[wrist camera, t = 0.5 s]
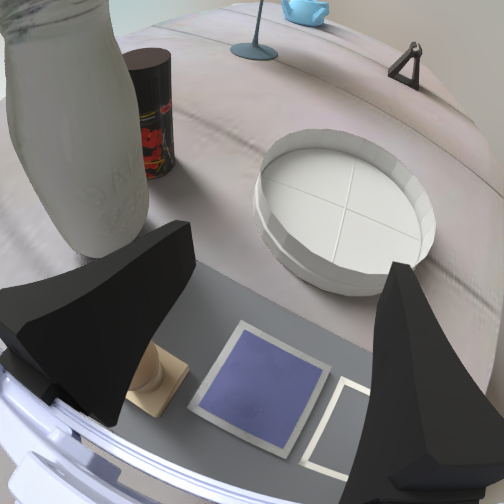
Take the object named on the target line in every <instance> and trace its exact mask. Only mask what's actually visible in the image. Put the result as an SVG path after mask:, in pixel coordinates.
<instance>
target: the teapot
mask: <svg viewBox="0 0 504 504" xmlns="http://www.w3.org/2000/svg"><path fill="white" fill-rule="evenodd" d="M281 3H282V8H283V13H284V16H285V17H286V19H287V20H289V21H291V22H294V23H297V24H301V25H305V26H313V27H317V26H319V25H321V24H322V23H323V22H324V17H325V16H327V15H328V14H329V5H328V3H326V2H318V1H315V0H290V3H288V2H287V0H281ZM321 6H322V7H321Z"/></svg>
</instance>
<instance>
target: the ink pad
mask: <svg viewBox="0 0 504 504" xmlns="http://www.w3.org/2000/svg"><path fill="white" fill-rule="evenodd" d="M331 368H332V367H331V366H329V365H327V364H325V363H323V362H321V361H319V360H317V359H315V358H313V357H311V356H309V355H307V354H305V353H303V352H301V351H299V350H297V349H295V348H293V347H291V346H289V345H287V344H286V343H284V342H282V341H280V340H278V339H276V338H274V337H272V336H270V335H268V334H267V333H265V332H263V331H261V330H259V329H257V328H255V327H254V326H252V325H250V324H248V323H246V322H245V321H243V320H240V322H239V324H238V325H237V327H236V329H235V330H234V332H233V334H232V335H231V337H230V339H229V340H228V342H227V343H226V345H225V347H224V348H223V350H222V352H221V353H220V355H219V356H218V358H217V360H216V361H215V363H214V365H213V366H212V368H211V369H210V371H209V373H208V374H207V376H206V377H205V379H204V381H203V382H202V384H201V385H200V387H199V389H198V390H197V392H196V393H195V395H194V397H193V398H192V400H191V401H190V403H189V405H188V406H187V409H189V410H190V411H192V412H194V413H195V414H197V415H199V416H201V417H202V418H204V419H206V420H208V421H209V422H211V423H213V424H215V425H217V426H218V427H220V428H222V429H224V430H226V431H228V432H230V433H232V434H234V435H236V436H238V437H239V438H241V439H243V440H245V441H248V442H250V443H252V444H254V445H256V446H258V447H260V448H262V449H264V450H266V451H269V452H271V453H273V454H275V455H278V456H280V457H282V458H285V459H286V458H287V456H288V455H289V453H290V451H291V449H292V447H293V445H294V444H295V442H296V440H297V438H298V436H299V434H300V432H301V430H302V428H303V426H304V425H305V423H306V421H307V419H308V417H309V415H310V413H311V411H312V409H313V407H314V404H315V402H316V400H317V398H318V396H319V394H320V392H321V390H322V388H323V385H324V383H325V381H326V379H327V377H328V374H329V372H330V370H331Z"/></svg>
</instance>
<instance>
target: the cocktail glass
mask: <svg viewBox="0 0 504 504" xmlns="http://www.w3.org/2000/svg"><path fill="white" fill-rule="evenodd" d="M262 5H263V0H261V1H260V6H259V12H258V18H257V24H256V30H255V35H254V39H253V42H252V43H240V44H236V45H233V46H232V47H231V48H230V50H231V52H232V53H233V54H235V55H237V56H239V57H243V58H247V59H253V60H269V59H273V58H275V57H276V56H277V52H276V51H275V50H274V49H272V48H270V47H268V46H265V45H261V44H258V32H259V25H260V18H261V11H262Z"/></svg>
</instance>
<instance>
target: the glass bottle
mask: <svg viewBox="0 0 504 504" xmlns="http://www.w3.org/2000/svg"><path fill="white" fill-rule="evenodd" d="M0 33H1V34H2V36H3V37H4V39H5V74H6V112H7V121H8V127H9V133H10V138H11V141H12V144H13V146H14V149H15V151H16V153H17V156H18V158H19V160H20V162H21V164H22V166H23V168H24V171H25V172H26V174H27V177H28V178H29V180H30V183H31V184H32V186H33V188H34V190H35V192H36V194H37V195H38V197H39V199H40V201H41V203H42V205H43V206H44V208H45V210H46V211H47V213H48V215H49V216H50V218H51V220H52V222H53V223H54V225H55V226H56V228H57V230H58V231H59V233H60V234H61V235H62V237H63V238H64V240H65V241H66V242H67V243H68V245H69V246H70V247H71V248H72V249H73V250H74V251H76V252H78V253H80V254H82V255H85V256H88V257H92V258H102V257H104V256H106V255H108V254H110V253H112V252H114V251H116V250H118V249H120V248H122V247H124V246H126V245H128V244H130V243H131V242H132V241H133V240H134V239H135V238H136V237H137V235H138V234H139V233H140V231H141V229H142V227H143V225H144V223H145V220H146V217H147V213H148V208H149V192H148V184H147V178H146V172H145V166H144V160H143V151H142V140H141V130H140V119H139V109H138V103H137V98H136V93H135V88H134V85H133V82H132V79H131V77H130V74H129V72H128V69H127V66H126V64H125V61H124V58H123V56H122V53H121V50H120V48H119V46H118V43H117V41H116V39H115V37H114V34H113V29H112V24H111V19H110V13H109V0H0Z"/></svg>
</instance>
